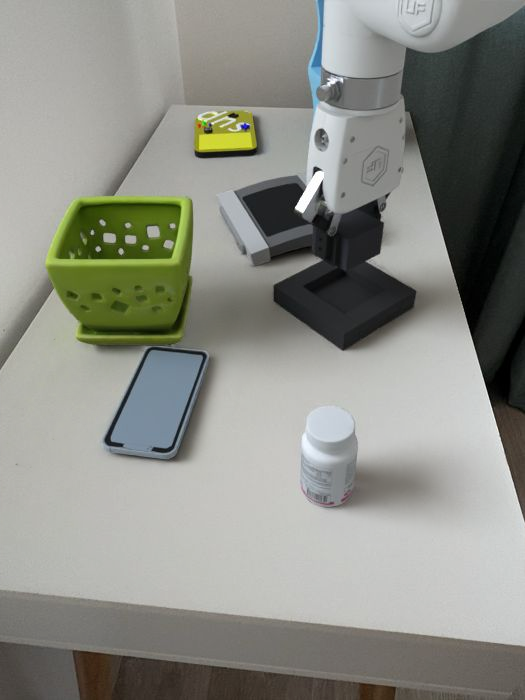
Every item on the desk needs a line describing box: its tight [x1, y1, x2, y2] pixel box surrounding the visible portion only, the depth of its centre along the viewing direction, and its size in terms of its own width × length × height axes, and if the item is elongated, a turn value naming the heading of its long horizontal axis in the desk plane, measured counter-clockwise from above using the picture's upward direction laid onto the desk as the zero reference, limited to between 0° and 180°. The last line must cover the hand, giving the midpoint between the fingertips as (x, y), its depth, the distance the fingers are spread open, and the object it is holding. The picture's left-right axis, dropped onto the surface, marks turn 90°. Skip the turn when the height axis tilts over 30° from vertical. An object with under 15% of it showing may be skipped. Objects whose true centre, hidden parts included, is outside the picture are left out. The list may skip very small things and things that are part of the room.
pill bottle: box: [299, 405, 359, 508], centre depth 53 cm, size 5×5×8 cm
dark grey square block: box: [311, 208, 385, 271], centre depth 70 cm, size 6×6×4 cm
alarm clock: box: [216, 172, 331, 267], centre depth 89 cm, size 17×5×16 cm
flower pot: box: [44, 195, 194, 346], centre depth 70 cm, size 14×14×13 cm
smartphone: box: [101, 345, 210, 460], centre depth 64 cm, size 7×1×15 cm
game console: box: [193, 109, 258, 159], centre depth 114 cm, size 18×11×2 cm, turn 5°
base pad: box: [272, 259, 418, 351], centre depth 75 cm, size 12×12×2 cm
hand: (346, 248), depth 71 cm, fingers closed on dark grey square block, 5 cm apart
